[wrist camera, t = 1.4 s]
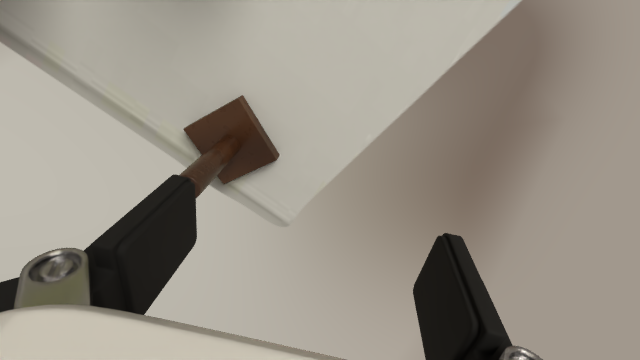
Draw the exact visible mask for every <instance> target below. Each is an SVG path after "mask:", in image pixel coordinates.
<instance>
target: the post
mask: <svg viewBox="0 0 640 360" xmlns="http://www.w3.org/2000/svg"><path fill="white" fill-rule="evenodd" d="M184 131H185V132H186V133H187V135H188V136H189V138H190V139H191V140H192V142H193V143H194V144H195V146H196V147H197V149H198V150H199V151H200V153H201V154H202V156H200V157H199V158H198V159H197V160H196V161H195V162H194V163H192V164H191V165H190V166H189V167H188V168H187V169H186V170H185V171H183V172H182V173H181V174H180V175H179V176H184V177H188V178H190V179H191V182H193V183H194V184H195V198H197V197H198V196H199V195H200V194H201V193H202V192H203V190H204V189H205V188H206V187H207V186H208V185H209V184H210V183H211V182H212V180H213V179H214V178H215V177H216V176H218V177H219V179H220V180H221V181H222V183H223V184H225V183H227V182H230V181H232V180H234V179H236V178H238V177H241V176H243V175H245V174H247V173H249V172H252V171H254V170H256V169H258V168H260V167H262V166H265V165H267V164H269V163H271V162H273V161H276V160H277V158H278V157H279V153H278V152H277V150H276V148H275V147H274V145H273V144H272V142H271V140H270V139H269V137H268V135H267V134H266V132H265V131H264V129H263V127H262V126H261V124H260V122H259V121H258V119H257V118H256V116H255V114H254V113H253V111H252V109H251V108H250V106H249V105H248V103H247V101H246V100H245V98H244V96H243V95H242V96H240V97H238V98H237V99H235V100H233V101H231V102H229V103H228V104H226V105H224V106H222V107H221V108H219V109H217V110H215V111H213V112H212V113H210V114H208V115H206V116H204V117H203V118H201V119H199V120H197V121H196V122H194V123H192V124H190V125H189V126H187V127H185V128H184Z"/></svg>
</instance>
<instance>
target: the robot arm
mask: <svg viewBox="0 0 640 360" xmlns="http://www.w3.org/2000/svg"><path fill="white" fill-rule="evenodd" d="M196 230H197V229H196V198H195V184H194V183H193V182H191V179H190V178H188V177H184V176H179V175H172V176H171V177H170V178H168V179H167V180H166V181H165V182H164V183H162V184H161V185H160V186H159V187H158V188H157V189H156V190H154V191H153V192H152V193H151V194H150V195H148V196H147V197H146V198H145V199H144V200H142V201H141V202H140V203H139V204H138V205H137V206H135V207H134V208H133V209H132V210H131V211H129V212H128V213H127V214H126V215H125V216H124V217H122V218H121V219H120V220H119V221H118V222H116V223H115V224H114V225H113V226H112V227H111V228H109V229H108V230H107V231H106V232H105V233H104V234H103V235H101V236H100V237H99V238H98V239H96V240H95V241H94V242H93V243H92V244H91V245H90V246H89V247H87V248H86V249H85V250H84V251H82V250H80V249H76V248H61V249H55V250H52V251H48V252H46V253H43V254H42V255H39V256H37V257H35V258H34V259H33V260H31V261H29V262H28V263H27V264H26V265H25V266H24V268H23V269H22V271H21V274H20V277H18V278H14V279H11V280H7V281H4V282H1V283H0V360H345V359H341V358H337V357H332V356H328V355H324V354H319V353H315V352H310V351H306V350H301V349H297V348H292V347H288V346H284V345H279V344H275V343H270V342H266V341H261V340H257V339H252V338H248V337H243V336H239V335H234V334H229V333H225V332H220V331H215V330H211V329H206V328H202V327H197V326H193V325H188V324H184V323H179V322H175V321H170V320H165V319H161V318H155V317H151V316H146V315H144V314H145V313H146V311H147V310H148V309H149V307H150V306H151V304H152V303H153V301H154V300H155V299H156V298H157V296H158V295H159V293H160V292H161V291H162V289H163V288H164V286H165V285H166V284H167V282H168V281H169V280H170V278H171V277H172V275H173V274H174V273H175V271H176V270H177V268H178V267H179V265H180V264H181V263H182V262H183V260H184V259H185V257H186V256H187V255H188V253H189V252H190V251H191V249H192V248H193V246H194V245H195V242H196V239H197V231H196ZM413 295H414V300H415V306H416V311H417V316H418V321H419V326H420V332H421V337H422V342H423V348H424V353H425V358H426V360H543V359H541V358H540V357H539V356H538V355H536V354H534V353H533V352H531V351H530V350H528V349H525V348H523V347H519V346H512V344H511V341H510V339H509V337H508V335H507V333H506V331H505V328H504V326H503V324H502V322H501V320H500V317H499V315H498V313H497V311H496V309H495V307H494V304H493V302H492V300H491V298H490V296H489V294H488V291H487V289H486V287H485V285H484V283H483V281H482V279H481V277H480V275H479V273H478V271H477V269H476V267H475V264H474V262H473V260H472V258H471V256H470V254H469V251H468V249H467V247H466V245H465V243H464V240H463V239H462V237H461V236H457V235H452V234H448V233H444V234H443V235H442V236H438V237H437V239H436V241H435V243H434V245H433V247H432V249H431V251H430V253H429V255H428V257H427V259H426V261H425V264H424V266H423V268H422V270H421V272H420V274H419V276H418V278H417V280H416V282H415V284H414V289H413Z"/></svg>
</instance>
